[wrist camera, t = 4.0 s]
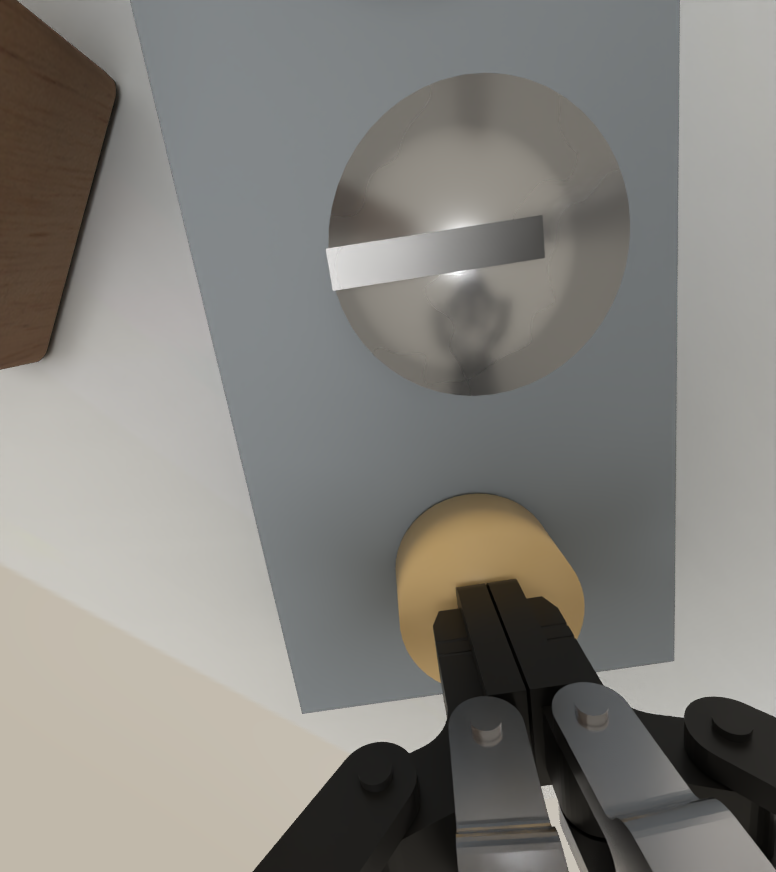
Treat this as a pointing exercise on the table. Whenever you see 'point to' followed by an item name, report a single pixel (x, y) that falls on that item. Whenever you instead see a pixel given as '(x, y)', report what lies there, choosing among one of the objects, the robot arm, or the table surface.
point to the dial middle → (479, 234)
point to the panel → (365, 374)
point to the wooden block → (42, 172)
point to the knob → (476, 565)
